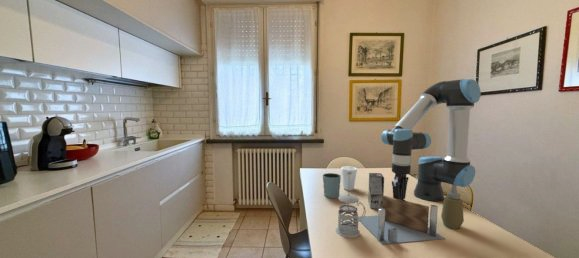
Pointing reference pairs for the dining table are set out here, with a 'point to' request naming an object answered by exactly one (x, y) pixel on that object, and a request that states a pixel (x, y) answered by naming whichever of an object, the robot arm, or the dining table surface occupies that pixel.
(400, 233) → the mat
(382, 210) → the posts
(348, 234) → the french press
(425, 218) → the wooden plank
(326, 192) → the grey-green cup
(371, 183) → the coffee box
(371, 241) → the dining table surface
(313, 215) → the dining table surface
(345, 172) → the foam cup
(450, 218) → the squeeze bottle
